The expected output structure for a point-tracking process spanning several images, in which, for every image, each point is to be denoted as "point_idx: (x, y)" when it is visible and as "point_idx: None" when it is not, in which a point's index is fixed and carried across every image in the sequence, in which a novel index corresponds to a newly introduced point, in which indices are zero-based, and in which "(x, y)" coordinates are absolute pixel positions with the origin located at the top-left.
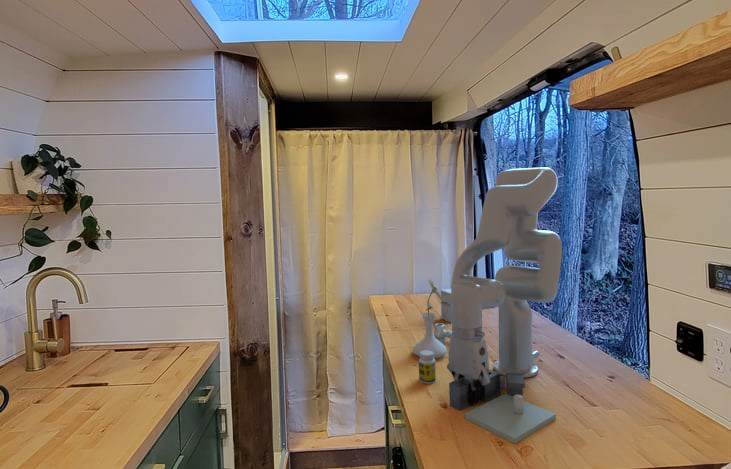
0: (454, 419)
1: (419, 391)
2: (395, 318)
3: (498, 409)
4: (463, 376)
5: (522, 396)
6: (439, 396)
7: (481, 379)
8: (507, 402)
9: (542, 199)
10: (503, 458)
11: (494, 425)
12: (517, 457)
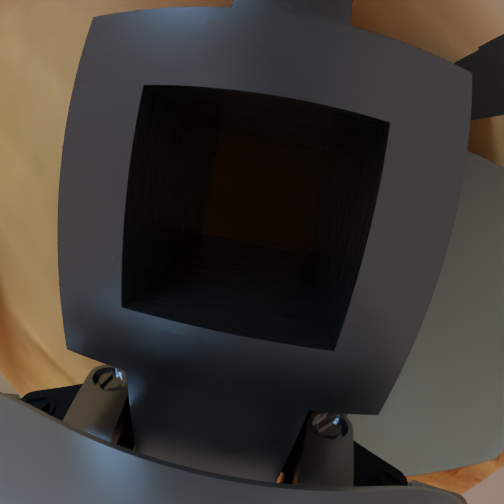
0: (278, 478)
1: (23, 359)
2: None
3: (450, 372)
4: (119, 420)
5: None
6: (91, 366)
7: (329, 410)
8: (481, 268)
9: None
10: (460, 490)
11: (443, 462)
12: (488, 470)
